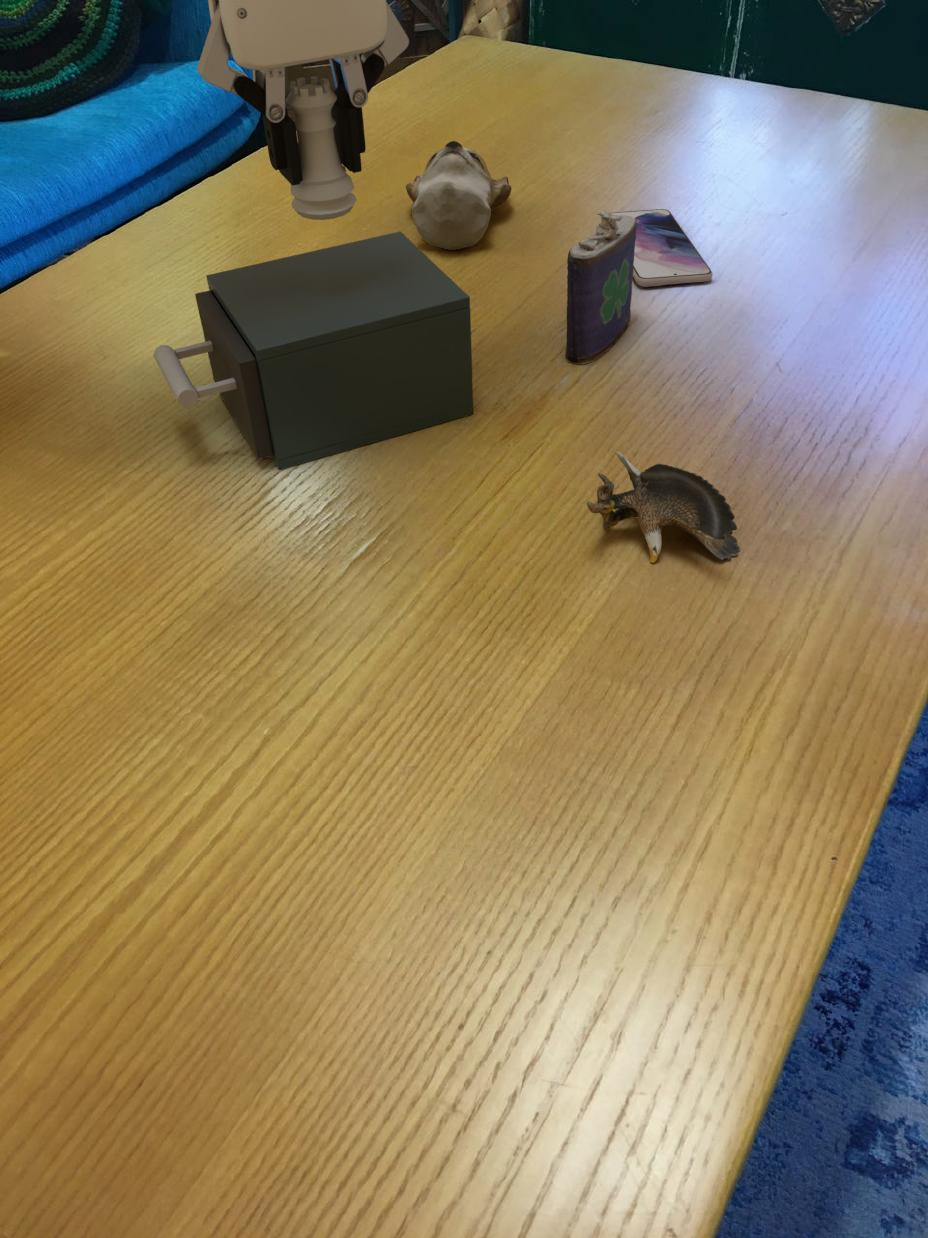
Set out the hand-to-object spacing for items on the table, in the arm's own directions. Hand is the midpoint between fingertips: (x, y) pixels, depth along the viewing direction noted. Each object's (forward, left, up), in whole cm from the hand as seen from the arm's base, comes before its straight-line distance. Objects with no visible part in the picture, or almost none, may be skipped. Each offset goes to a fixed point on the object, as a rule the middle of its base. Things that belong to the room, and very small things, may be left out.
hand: (319, 168), depth 71 cm
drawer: (-4, 0, -17) cm, 17 cm away
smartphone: (+35, +11, -18) cm, 41 cm away
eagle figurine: (+12, -26, -18) cm, 34 cm away
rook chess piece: (0, 0, -3) cm, 3 cm away
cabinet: (0, 0, -18) cm, 18 cm away
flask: (+22, -1, -18) cm, 29 cm away
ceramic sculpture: (+21, +25, -18) cm, 37 cm away
